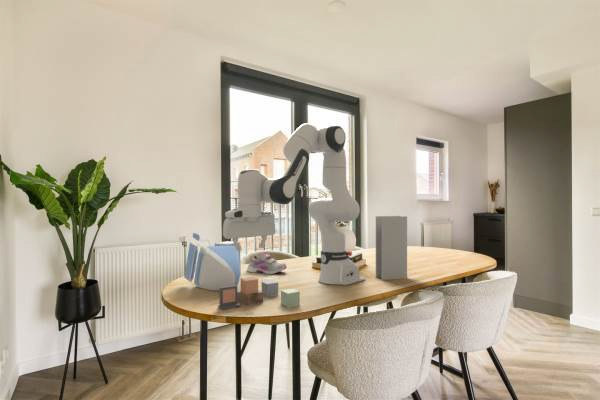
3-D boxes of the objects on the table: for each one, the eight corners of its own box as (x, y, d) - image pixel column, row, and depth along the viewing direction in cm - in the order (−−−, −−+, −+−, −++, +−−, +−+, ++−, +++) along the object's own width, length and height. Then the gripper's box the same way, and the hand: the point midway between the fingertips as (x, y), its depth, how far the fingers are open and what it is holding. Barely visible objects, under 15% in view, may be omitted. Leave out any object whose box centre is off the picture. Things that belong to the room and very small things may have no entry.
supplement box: (241, 275, 170) (241, 242, 170) (228, 279, 162) (228, 244, 162) (227, 273, 175) (227, 240, 175) (214, 276, 168) (214, 242, 167)
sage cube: (292, 301, 127) (292, 288, 127) (299, 305, 122) (299, 291, 122) (280, 304, 124) (280, 290, 124) (287, 307, 120) (287, 293, 120)
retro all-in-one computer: (191, 230, 147) (223, 227, 159) (183, 278, 151) (215, 272, 164) (226, 252, 131) (258, 247, 144) (216, 306, 136) (248, 296, 148)
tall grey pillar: (400, 275, 170) (400, 215, 169) (407, 277, 164) (407, 216, 164) (375, 277, 165) (375, 216, 165) (381, 280, 160) (381, 216, 160)
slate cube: (272, 291, 140) (272, 279, 140) (278, 294, 136) (278, 282, 136) (261, 293, 138) (261, 281, 137) (267, 296, 133) (267, 284, 133)
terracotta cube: (252, 289, 130) (252, 276, 130) (258, 292, 126) (258, 279, 126) (240, 291, 127) (240, 278, 127) (245, 294, 123) (245, 280, 123)
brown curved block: (252, 298, 132) (252, 288, 132) (263, 302, 127) (263, 291, 127) (237, 302, 127) (237, 291, 127) (247, 306, 122) (247, 295, 122)
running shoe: (283, 275, 170) (283, 256, 170) (243, 272, 177) (243, 254, 177) (288, 271, 179) (288, 253, 179) (250, 269, 186) (250, 251, 186)
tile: (236, 304, 123) (236, 284, 123) (239, 306, 121) (239, 286, 121) (218, 307, 119) (218, 287, 119) (220, 310, 117) (220, 289, 117)
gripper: (270, 210, 135) (270, 245, 135) (221, 212, 124) (221, 250, 124) (278, 211, 129) (278, 247, 130) (227, 213, 118) (227, 252, 119)
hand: (250, 248), depth 127 cm, fingers open, 8 cm apart
